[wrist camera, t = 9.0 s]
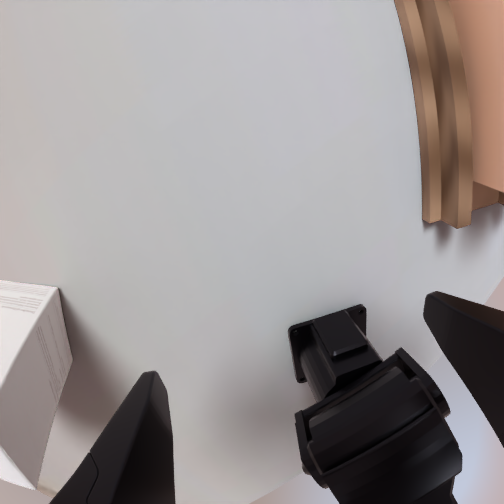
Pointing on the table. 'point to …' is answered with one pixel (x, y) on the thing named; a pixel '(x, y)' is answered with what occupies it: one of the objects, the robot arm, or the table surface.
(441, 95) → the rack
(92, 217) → the table surface
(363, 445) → the robot arm
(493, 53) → the peach rectangular block
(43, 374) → the supplement box
